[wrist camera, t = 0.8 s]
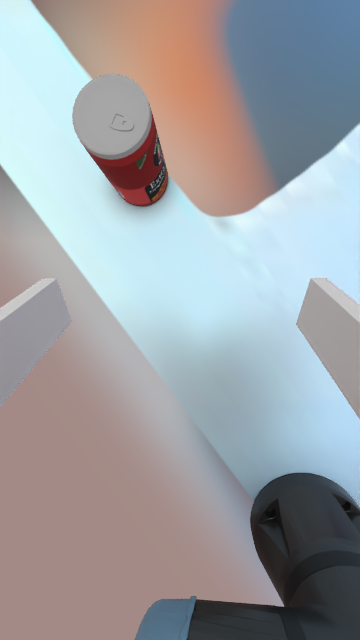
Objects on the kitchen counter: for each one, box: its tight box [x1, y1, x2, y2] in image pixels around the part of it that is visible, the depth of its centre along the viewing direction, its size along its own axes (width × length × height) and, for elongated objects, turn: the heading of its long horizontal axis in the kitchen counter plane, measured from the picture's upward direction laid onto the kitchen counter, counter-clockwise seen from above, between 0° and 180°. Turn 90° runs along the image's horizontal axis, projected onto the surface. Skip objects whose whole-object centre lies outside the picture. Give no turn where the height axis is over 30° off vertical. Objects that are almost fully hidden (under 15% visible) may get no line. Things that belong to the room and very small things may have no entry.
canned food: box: [72, 74, 168, 206], centre depth 27 cm, size 8×8×11 cm
